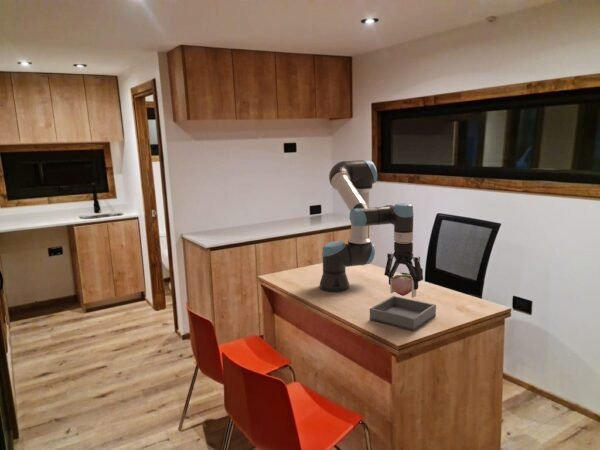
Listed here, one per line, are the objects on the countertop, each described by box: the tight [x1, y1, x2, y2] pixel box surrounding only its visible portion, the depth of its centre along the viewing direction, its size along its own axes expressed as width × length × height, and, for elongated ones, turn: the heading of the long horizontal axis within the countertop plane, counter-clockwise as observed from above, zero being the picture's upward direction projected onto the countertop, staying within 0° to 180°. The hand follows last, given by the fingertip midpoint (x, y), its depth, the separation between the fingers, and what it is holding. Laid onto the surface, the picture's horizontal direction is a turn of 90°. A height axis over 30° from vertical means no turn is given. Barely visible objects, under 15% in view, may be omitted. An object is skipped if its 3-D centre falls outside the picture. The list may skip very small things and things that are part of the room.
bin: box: [369, 295, 437, 333], centre depth 190 cm, size 20×20×5 cm
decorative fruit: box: [392, 272, 413, 297], centre depth 188 cm, size 9×8×10 cm
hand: (403, 294), depth 189 cm, fingers closed on decorative fruit, 9 cm apart
